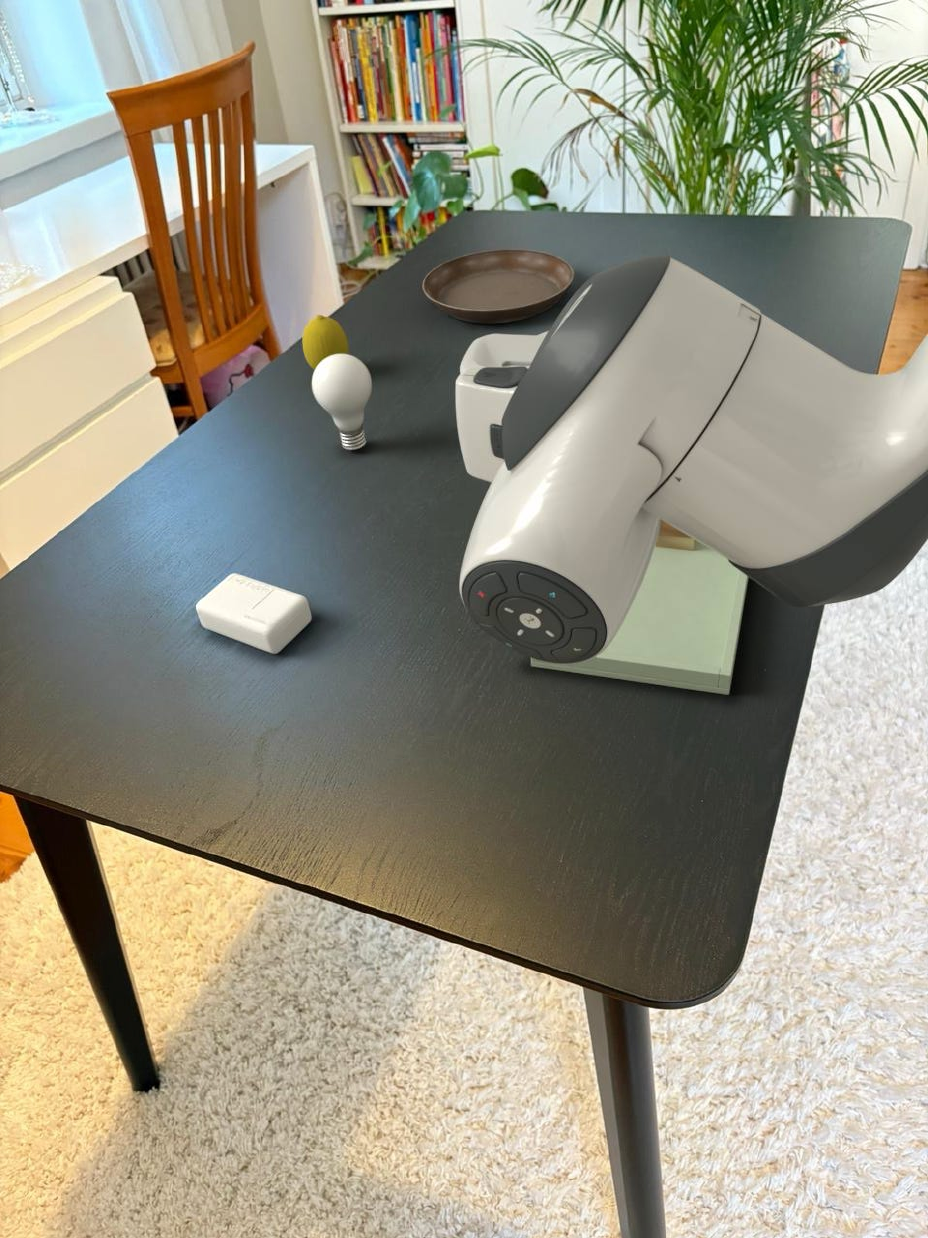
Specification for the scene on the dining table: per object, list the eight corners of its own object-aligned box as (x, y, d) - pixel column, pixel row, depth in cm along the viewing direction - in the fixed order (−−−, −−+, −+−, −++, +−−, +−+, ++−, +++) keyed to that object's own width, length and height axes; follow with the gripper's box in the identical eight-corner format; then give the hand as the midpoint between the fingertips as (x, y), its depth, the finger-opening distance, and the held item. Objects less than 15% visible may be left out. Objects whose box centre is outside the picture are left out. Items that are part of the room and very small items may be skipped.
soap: (200, 629, 87) (190, 604, 85) (240, 593, 90) (232, 568, 88) (276, 659, 83) (268, 632, 81) (316, 620, 86) (309, 594, 84)
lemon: (361, 368, 123) (349, 307, 118) (339, 389, 119) (326, 327, 114) (324, 364, 125) (311, 304, 120) (301, 384, 121) (287, 323, 116)
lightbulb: (361, 468, 105) (342, 375, 98) (315, 457, 108) (293, 365, 100) (394, 440, 109) (378, 348, 101) (349, 429, 111) (330, 339, 104)
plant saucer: (600, 279, 136) (600, 256, 134) (528, 342, 124) (526, 317, 121) (475, 263, 146) (473, 241, 143) (396, 320, 133) (392, 296, 131)
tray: (758, 517, 91) (760, 498, 89) (728, 695, 74) (730, 675, 73) (593, 502, 95) (592, 484, 94) (530, 666, 79) (529, 647, 77)
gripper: (805, 398, 49) (819, 287, 59) (428, 377, 56) (497, 280, 65) (791, 502, 54) (806, 382, 63) (441, 472, 60) (504, 367, 69)
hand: (647, 330), depth 64 cm, fingers open, 8 cm apart
